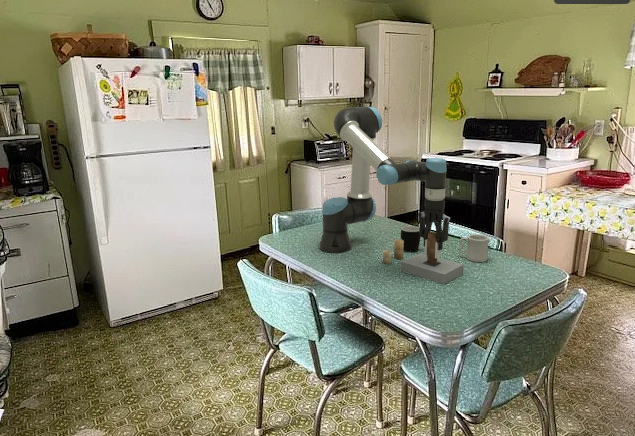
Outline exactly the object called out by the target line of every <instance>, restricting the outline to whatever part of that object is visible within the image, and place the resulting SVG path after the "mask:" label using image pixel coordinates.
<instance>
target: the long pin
mask: <svg viewBox="0 0 635 436" xmlns="http://www.w3.org/2000/svg"><path fill="white" fill-rule="evenodd" d="M436 242H437V234H436V231H430V232H429V233H428V248H427V263H430V264H436V263H437V258H435V245H436Z"/></svg>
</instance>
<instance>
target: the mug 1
mask: <svg viewBox="0 0 635 436" xmlns="http://www.w3.org/2000/svg"><path fill="white" fill-rule="evenodd" d="M400 239H401V240H404V247H403V252H404V251H405V252H409V253H414V252H415V253H416V252H417V251H418V250H419V248H420V245H421V237H420V236H419V227H418V226H413V225H412V226H411V225H408V226H407V225H406V226H403V227H401V228H400Z"/></svg>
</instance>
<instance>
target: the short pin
mask: <svg viewBox="0 0 635 436" xmlns="http://www.w3.org/2000/svg"><path fill="white" fill-rule="evenodd" d="M382 264H383V265H391V264H393V250H389V249H385V250H382Z"/></svg>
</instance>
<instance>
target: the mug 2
mask: <svg viewBox="0 0 635 436" xmlns="http://www.w3.org/2000/svg"><path fill="white" fill-rule="evenodd" d="M466 237H467V238H466ZM466 237H461V238H460V239H459V240H458V241H459V244H460V245H461V246H459V247H458V251H459V253H460V254H462V255H464V254H465V258H466V259H467V260H468V261H470V262H475V263H485V262H487V261H488V260H489V243H490V237H489V236H488V235H485V234H480V233H479V234H477V233H475V234H474V233H473V234H469V235H467V236H466ZM463 240H464V241H465V242H467V246H466V247H467V248H466V250H464V251H463V250H462V249H463V248H464V247H465V245H464V243H463V242H462V241H463Z"/></svg>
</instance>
